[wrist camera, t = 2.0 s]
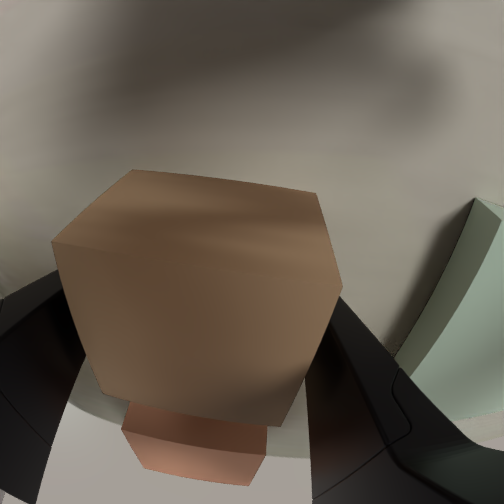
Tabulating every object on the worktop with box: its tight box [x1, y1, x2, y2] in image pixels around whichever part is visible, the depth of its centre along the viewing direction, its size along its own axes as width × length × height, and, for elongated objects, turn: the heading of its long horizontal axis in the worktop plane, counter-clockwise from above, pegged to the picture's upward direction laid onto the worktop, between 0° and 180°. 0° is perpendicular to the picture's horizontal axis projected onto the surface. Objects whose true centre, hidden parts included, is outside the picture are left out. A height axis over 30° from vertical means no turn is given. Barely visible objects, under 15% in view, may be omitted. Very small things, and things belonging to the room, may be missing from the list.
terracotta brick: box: [121, 402, 267, 486], centre depth 12 cm, size 5×5×4 cm
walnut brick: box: [51, 170, 343, 427], centre depth 8 cm, size 5×5×4 cm
